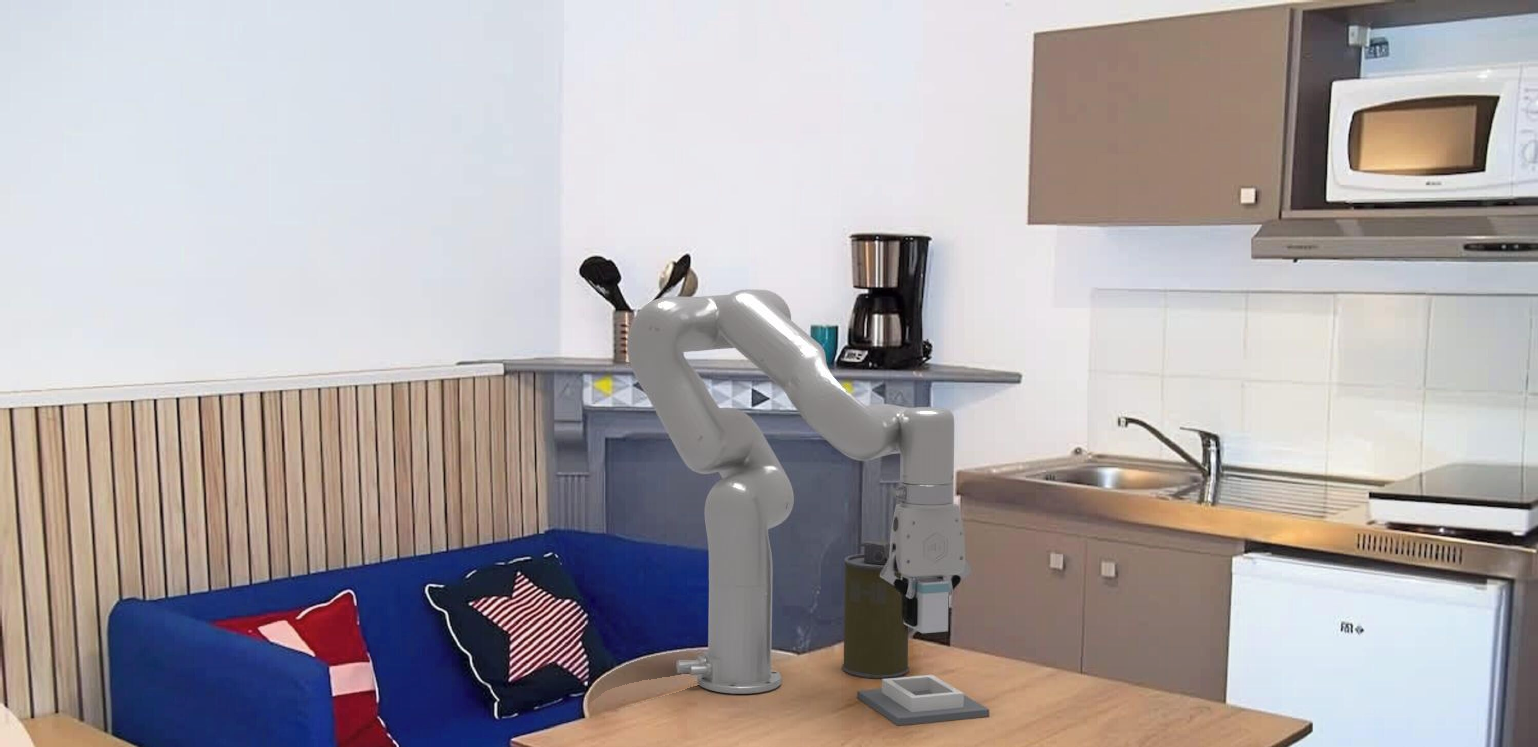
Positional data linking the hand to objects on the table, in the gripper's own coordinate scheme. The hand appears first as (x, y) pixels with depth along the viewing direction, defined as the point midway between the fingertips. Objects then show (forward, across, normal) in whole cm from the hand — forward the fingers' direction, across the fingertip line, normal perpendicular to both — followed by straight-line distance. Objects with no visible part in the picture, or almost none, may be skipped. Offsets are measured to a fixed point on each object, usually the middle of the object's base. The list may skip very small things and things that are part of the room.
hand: (925, 621), depth 202 cm
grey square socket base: (+12, 0, 0) cm, 12 cm away
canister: (+12, +2, +20) cm, 24 cm away
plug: (+1, 0, 0) cm, 1 cm away
